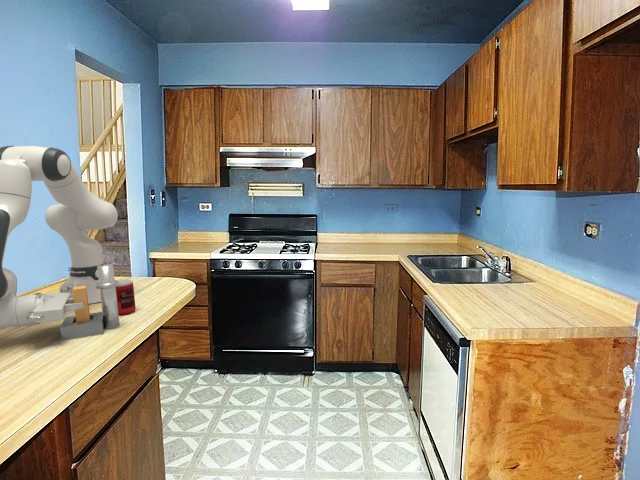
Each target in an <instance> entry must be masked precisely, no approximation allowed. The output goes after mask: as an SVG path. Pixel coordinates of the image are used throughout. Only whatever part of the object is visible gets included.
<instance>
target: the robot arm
mask: <svg viewBox="0 0 640 480" xmlns="http://www.w3.org/2000/svg"><path fill="white" fill-rule="evenodd" d="M37 181H38V182H43V184H44V185H45V186H46V189H47V190H48V192H49V194H50V195H51V197H52V198H53V200H54V201H55V202H57V203H56V204H53V205H50V206H48V207H47V209H46V211H45V214H44V219H45V224H47V226H48V227H49V228H50V229H51V230H53V231H54V232H56V233H58V234H59V235H60V236H61V237H62V238H63V240H64V242H65V243H66V245H67V248H68V250H69V255H70V261H71V267H68V268H67V269H68V270H67V272H69V277H67V279H66V280H65V281H64V282H63V283H62V284H61V285H60V286H59V292H52V293H43V292H36V293H33V294H28V295H21V296H17V291H18V278H17V276H16V274H15V273H14V272H13V271H11V270H10V269H7V268H4V267H3V264H4V263H3V262H4V259H5V258H4V257H5V253H6V248H7V243H8V238H9V236H10V234H11V232H13V230H14V229H15V228H17V227H18V226H19V225H21V224H23V222H25V220H26V218H27V216H28V213H29V210H30V206H31V200H32V189H33V187H32V186H33V185H32V184H33V182H37ZM118 218H119V214H118V210H117V208H116V206H115V205H114V204H113V203H112V202H109V201H106V200H103V199H101V198H100V197H98V196H97V195H95V194H94V193H92V192H91V190H89V189H88V188H87V186H86V185H85V183H84V182H83V180H82V178H81V176H80V174H79V172H78V171H77V168H76V167H75V165H74V164H73V162H72V160H71V159H70V156H69V155H68V154H67V153H66V151H64V150H62V149H59V148H57V147H45V146H40V145H19V146H18V145H17V146H14V145H5V146H2V147H1V146H0V330H5V329H7V328H10V327H18V328H21V327H27V326H32V325H33V326H34V325H40V324H41V323H48V322H57V321H61V320H64V319H65V317H66V314H67V313H68V312H69V313H70V312H73V311H74V312H75V310H77V309H82V308H84V302H77V303H74V300H73V292H72V289H73V287H79V286H87V295H88V303H89V305H90V304H96V303H100V302H101V294H100V289H97V288H96V283H98V282H99V277H98V269H97V266H100V265H105V264H106V263H105V261H104V253H103V246H102V245H101V243H100V242H99V241H98V240H96V239H94V238H91V237H90V236H88V234H87V232H86V231H91V230H92V231H95V230H98V231H99V230H104V229H108V228H111V227H114V226H115V225H116V223H117V221H118ZM101 303H102V302H101Z"/></svg>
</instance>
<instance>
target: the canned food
mask: <svg viewBox="0 0 640 480" xmlns="http://www.w3.org/2000/svg"><path fill="white" fill-rule="evenodd" d="M118 283H119V285H118V286H116V296H117V305H118V314H119V317H120V316H127V315H131V314H133V313H135V312H136V310H137V309H136V300H135V289H134V282H133V280H130V279H119V280H118Z"/></svg>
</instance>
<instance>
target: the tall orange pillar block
mask: <svg viewBox="0 0 640 480" xmlns="http://www.w3.org/2000/svg"><path fill="white" fill-rule="evenodd" d="M72 292H73V300H74V303H77V302H84V308H82V309H77V310H74V314H75V315H74V316H76V323H77V322H83V321H90V313H91V312H90V304H89V303H88V295H87V286H79V287H73V289H72Z"/></svg>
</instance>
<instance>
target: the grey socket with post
mask: <svg viewBox="0 0 640 480" xmlns="http://www.w3.org/2000/svg"><path fill="white" fill-rule="evenodd" d="M97 269H98V277H99V282H98V283H96V288H97V289H100V294H101V310H102V311H97V312H90V321H83V322H77V323H76V316H75V315H70V316H64V318H63V322H62V324H61V325H60V327H59V328H60V329H59V330H60V337H61V341H68V340H72V339H80V338H85V337H92V336H98V335H102V334H103V335H104V334H105V330H114V329H118V328H119V327H120V326H121V324H120V323H121V322H120V316H119V314H118V305H117V296H116V286H118V285H119V283H118V281H119V280H117V279H115V272H114V264H111V263H107V264H106V263H105V265H100V266H97Z"/></svg>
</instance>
